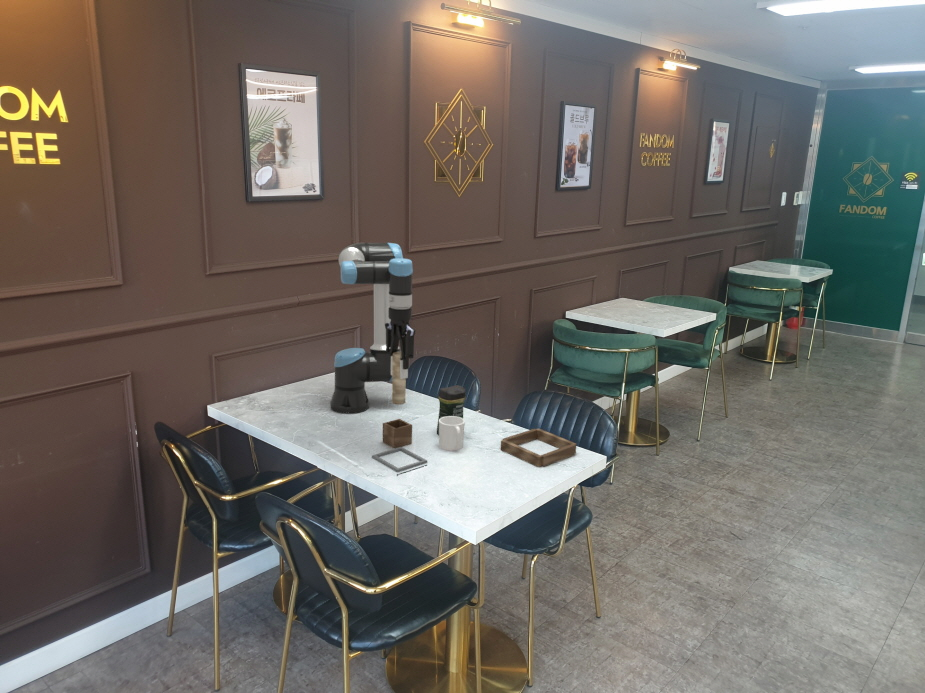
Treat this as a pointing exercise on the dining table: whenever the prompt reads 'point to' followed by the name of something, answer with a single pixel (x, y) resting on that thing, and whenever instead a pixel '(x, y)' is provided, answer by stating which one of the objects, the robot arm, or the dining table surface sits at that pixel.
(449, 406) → the coffee jar
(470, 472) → the dining table surface
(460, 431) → the mug
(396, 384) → the dowel
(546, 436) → the frame
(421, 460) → the tray
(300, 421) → the dining table surface
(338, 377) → the robot arm
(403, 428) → the pen cup
